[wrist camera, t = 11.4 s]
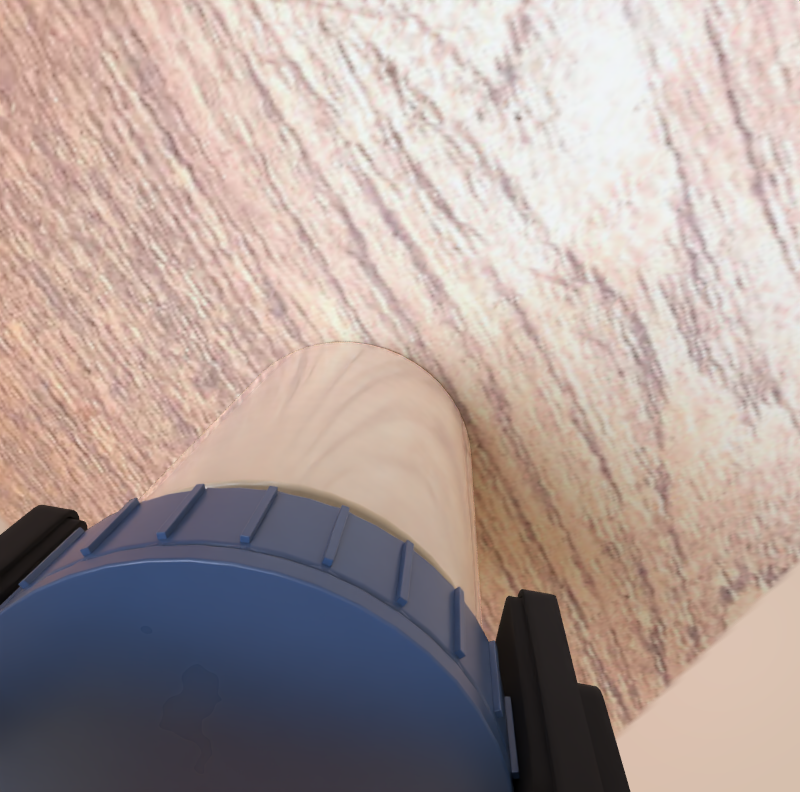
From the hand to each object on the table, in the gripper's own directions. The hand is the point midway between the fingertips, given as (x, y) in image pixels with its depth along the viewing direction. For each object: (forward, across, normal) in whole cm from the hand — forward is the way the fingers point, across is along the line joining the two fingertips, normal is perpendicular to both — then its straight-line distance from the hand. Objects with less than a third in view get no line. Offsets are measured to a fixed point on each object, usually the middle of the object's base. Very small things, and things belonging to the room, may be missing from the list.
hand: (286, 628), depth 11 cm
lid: (-3, 0, 0) cm, 3 cm away
